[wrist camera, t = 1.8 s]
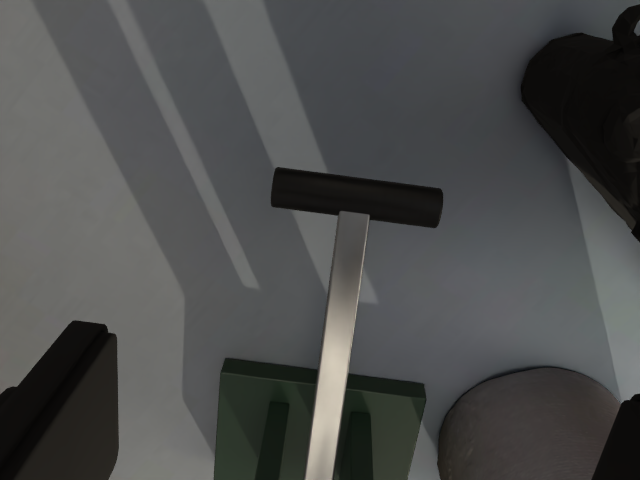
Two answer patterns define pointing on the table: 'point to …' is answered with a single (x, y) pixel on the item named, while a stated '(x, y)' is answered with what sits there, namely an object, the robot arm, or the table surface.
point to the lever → (345, 279)
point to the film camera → (594, 108)
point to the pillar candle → (528, 428)
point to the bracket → (295, 417)
